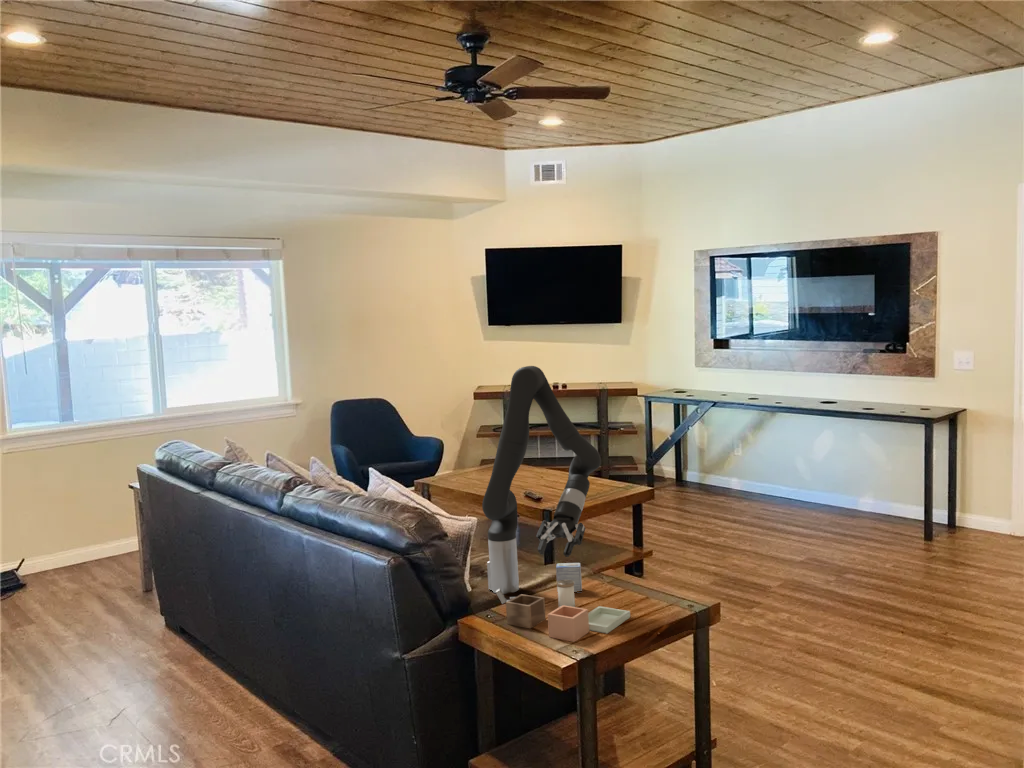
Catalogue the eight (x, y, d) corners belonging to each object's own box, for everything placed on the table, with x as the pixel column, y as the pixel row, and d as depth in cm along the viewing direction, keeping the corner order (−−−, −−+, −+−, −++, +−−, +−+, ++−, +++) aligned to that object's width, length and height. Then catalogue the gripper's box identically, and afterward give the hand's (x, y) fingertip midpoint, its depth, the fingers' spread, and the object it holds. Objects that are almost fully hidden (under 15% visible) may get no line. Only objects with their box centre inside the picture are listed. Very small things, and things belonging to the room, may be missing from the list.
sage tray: (575, 630, 212) (574, 621, 212) (599, 614, 224) (599, 606, 224) (607, 636, 206) (606, 627, 206) (630, 619, 218) (630, 611, 218)
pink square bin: (548, 639, 207) (547, 614, 206) (564, 629, 213) (562, 605, 213) (574, 644, 202) (573, 618, 202) (589, 634, 209) (588, 609, 208)
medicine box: (582, 588, 249) (580, 562, 248) (581, 593, 244) (580, 566, 244) (557, 589, 249) (556, 563, 249) (557, 593, 245) (555, 566, 245)
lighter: (521, 613, 228) (519, 587, 228) (520, 615, 227) (519, 589, 226) (497, 614, 229) (495, 588, 228) (497, 616, 227) (495, 590, 227)
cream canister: (555, 617, 224) (553, 583, 223) (564, 611, 228) (562, 578, 227) (570, 619, 221) (568, 585, 220) (579, 614, 225) (577, 580, 224)
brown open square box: (507, 626, 218) (505, 602, 218) (522, 617, 225) (521, 594, 224) (530, 631, 214) (529, 606, 213) (545, 621, 220) (544, 597, 220)
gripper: (544, 498, 232) (526, 545, 223) (585, 501, 223) (569, 549, 214) (555, 512, 236) (537, 558, 227) (595, 515, 228) (579, 563, 219)
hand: (553, 554), depth 221 cm, fingers open, 8 cm apart
